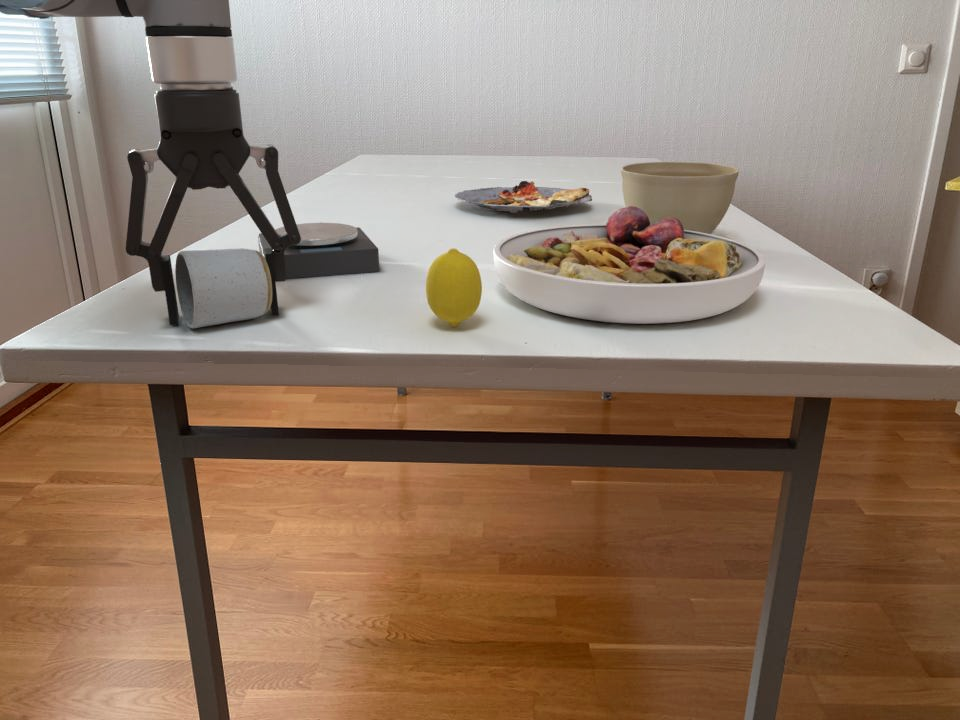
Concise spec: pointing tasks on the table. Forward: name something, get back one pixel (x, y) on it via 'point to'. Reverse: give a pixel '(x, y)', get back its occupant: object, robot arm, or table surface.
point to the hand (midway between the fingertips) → (225, 315)
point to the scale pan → (323, 233)
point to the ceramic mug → (222, 286)
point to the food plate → (524, 197)
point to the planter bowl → (680, 192)
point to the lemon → (453, 287)
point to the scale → (329, 257)
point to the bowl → (628, 270)
